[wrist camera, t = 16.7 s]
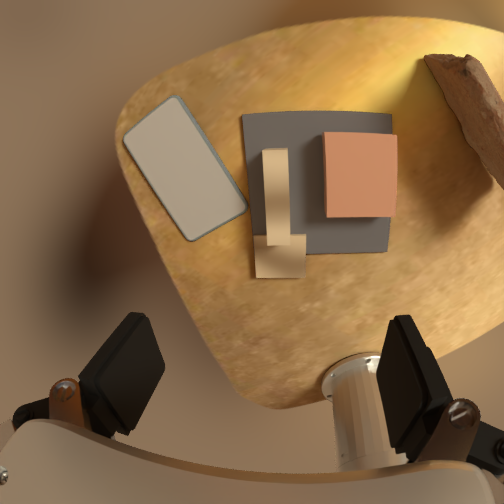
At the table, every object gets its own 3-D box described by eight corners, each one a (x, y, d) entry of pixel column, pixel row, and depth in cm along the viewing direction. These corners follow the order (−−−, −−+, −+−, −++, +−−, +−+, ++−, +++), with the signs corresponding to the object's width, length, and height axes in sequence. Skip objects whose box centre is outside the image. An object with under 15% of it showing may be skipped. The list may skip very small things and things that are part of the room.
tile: (395, 216, 24) (397, 134, 21) (326, 217, 25) (324, 131, 22) (387, 209, 26) (388, 134, 23) (324, 210, 27) (321, 132, 24)
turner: (248, 149, 26) (243, 151, 23) (304, 147, 25) (306, 149, 22) (256, 275, 32) (253, 289, 29) (305, 275, 31) (306, 289, 28)
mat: (386, 250, 29) (387, 251, 28) (254, 253, 31) (254, 255, 31) (390, 114, 23) (391, 114, 22) (242, 114, 25) (242, 114, 24)
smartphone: (189, 244, 31) (119, 137, 26) (191, 241, 32) (123, 137, 27) (251, 209, 28) (175, 91, 24) (252, 207, 29) (179, 92, 25)
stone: (431, 50, 18) (410, 65, 20) (464, 29, 10) (439, 47, 12) (510, 183, 21) (492, 198, 23) (551, 208, 13) (531, 228, 15)
